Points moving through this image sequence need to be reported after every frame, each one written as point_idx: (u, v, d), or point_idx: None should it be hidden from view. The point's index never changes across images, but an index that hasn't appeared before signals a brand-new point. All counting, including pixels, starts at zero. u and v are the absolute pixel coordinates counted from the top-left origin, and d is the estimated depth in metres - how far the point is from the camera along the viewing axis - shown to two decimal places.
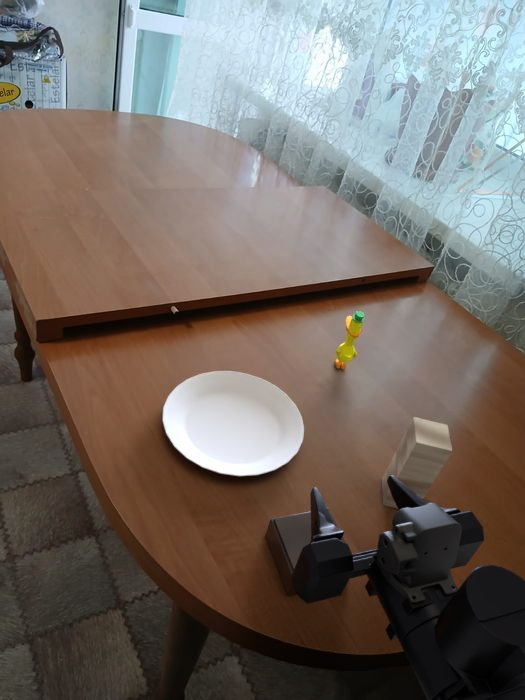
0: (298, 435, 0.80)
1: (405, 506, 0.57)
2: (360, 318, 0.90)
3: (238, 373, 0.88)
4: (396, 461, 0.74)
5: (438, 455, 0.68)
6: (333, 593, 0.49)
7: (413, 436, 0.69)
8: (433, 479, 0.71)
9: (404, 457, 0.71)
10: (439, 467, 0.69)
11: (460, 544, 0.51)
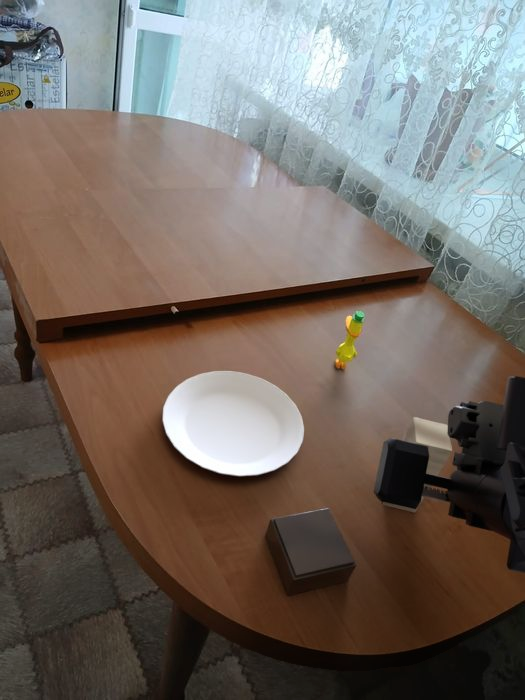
0: (298, 435, 0.80)
1: None
2: (360, 318, 0.90)
3: (238, 373, 0.88)
4: None
5: (438, 455, 0.68)
6: (412, 491, 0.52)
7: (413, 436, 0.69)
8: None
9: None
10: (439, 467, 0.69)
11: None
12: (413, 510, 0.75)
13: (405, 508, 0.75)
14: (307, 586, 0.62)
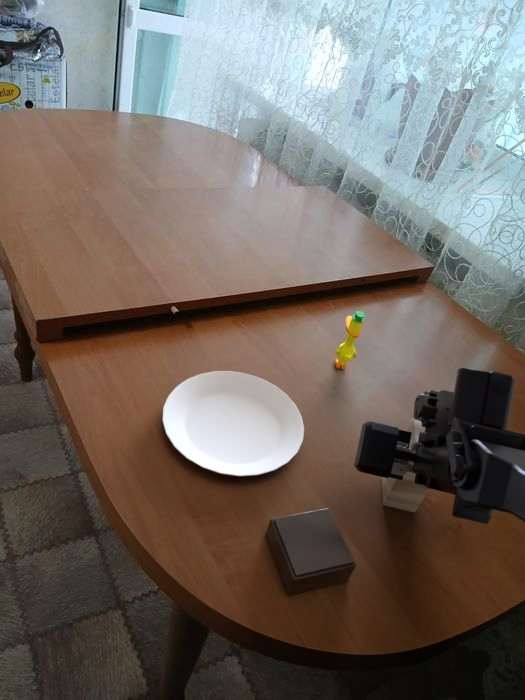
0: (298, 435, 0.80)
1: None
2: (360, 318, 0.90)
3: (238, 373, 0.88)
4: None
5: None
6: (384, 463, 0.64)
7: (413, 436, 0.69)
8: None
9: None
10: None
11: None
12: (413, 510, 0.75)
13: (405, 508, 0.75)
14: (307, 586, 0.62)
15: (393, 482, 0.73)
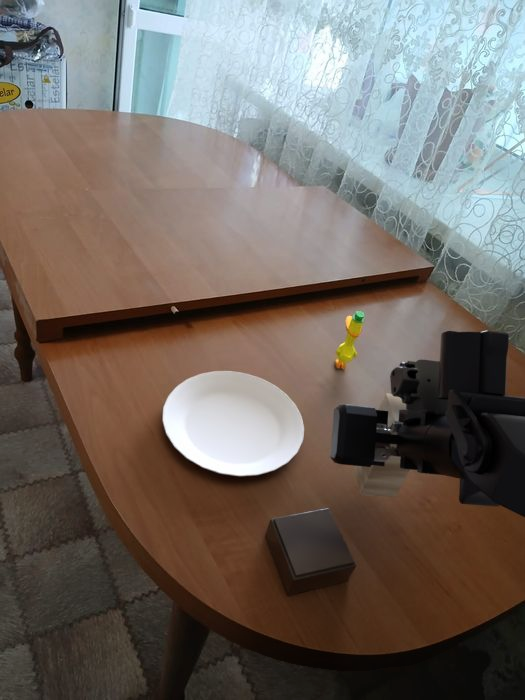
0: (298, 435, 0.80)
1: None
2: (360, 318, 0.90)
3: (238, 373, 0.88)
4: None
5: None
6: (366, 450, 0.55)
7: (389, 414, 0.61)
8: None
9: None
10: None
11: None
12: (393, 495, 0.68)
13: (384, 494, 0.67)
14: (307, 586, 0.62)
15: (370, 468, 0.65)
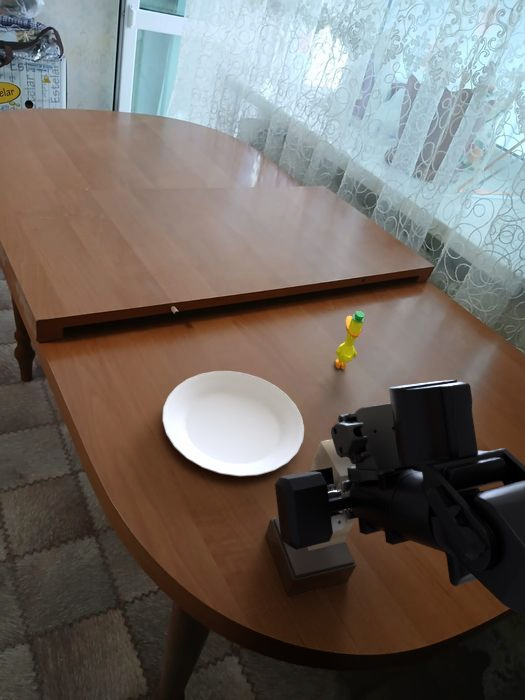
0: (298, 435, 0.80)
1: None
2: (360, 318, 0.90)
3: (238, 373, 0.88)
4: None
5: None
6: (322, 526, 0.48)
7: None
8: None
9: None
10: None
11: None
12: (342, 540, 0.62)
13: (334, 542, 0.61)
14: (307, 586, 0.62)
15: None
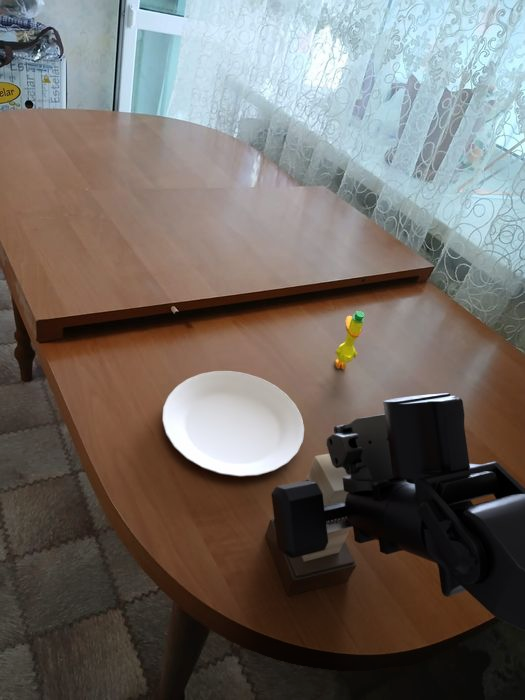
0: (298, 435, 0.80)
1: None
2: (360, 318, 0.90)
3: (238, 373, 0.88)
4: None
5: None
6: (317, 535, 0.49)
7: (326, 482, 0.55)
8: None
9: None
10: None
11: None
12: (337, 551, 0.63)
13: (328, 553, 0.63)
14: (307, 586, 0.62)
15: None
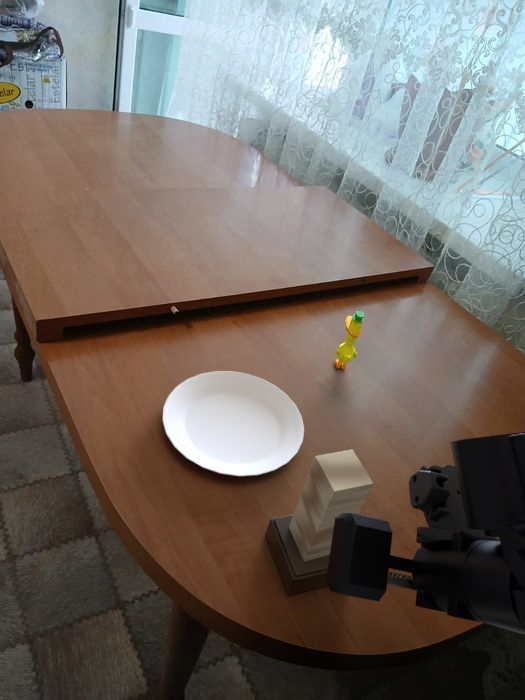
0: (298, 435, 0.80)
1: None
2: (360, 318, 0.90)
3: (238, 373, 0.88)
4: (306, 509, 0.60)
5: (359, 493, 0.56)
6: (376, 577, 0.42)
7: (326, 482, 0.55)
8: None
9: (319, 506, 0.57)
10: (361, 503, 0.57)
11: None
12: None
13: (328, 553, 0.63)
14: (307, 586, 0.62)
15: (312, 536, 0.59)
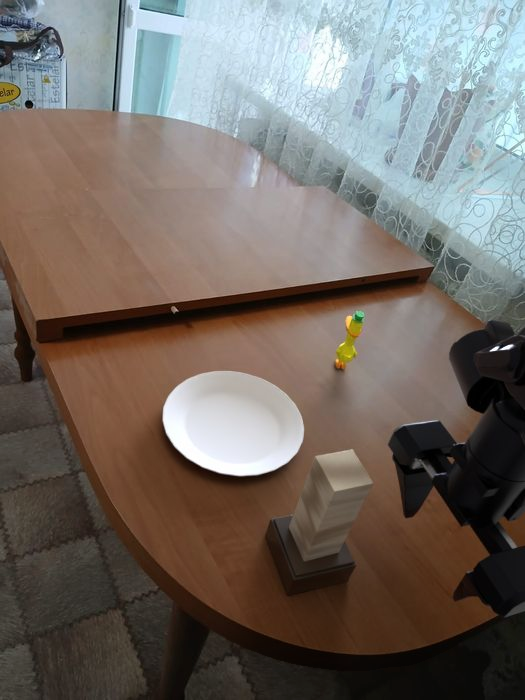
0: (298, 435, 0.80)
1: None
2: (360, 318, 0.90)
3: (238, 373, 0.88)
4: (306, 509, 0.60)
5: (359, 493, 0.56)
6: (423, 442, 0.53)
7: (326, 482, 0.55)
8: (355, 516, 0.59)
9: (319, 506, 0.57)
10: (361, 503, 0.57)
11: None
12: (337, 551, 0.63)
13: (328, 553, 0.63)
14: (307, 586, 0.62)
15: (312, 536, 0.59)
